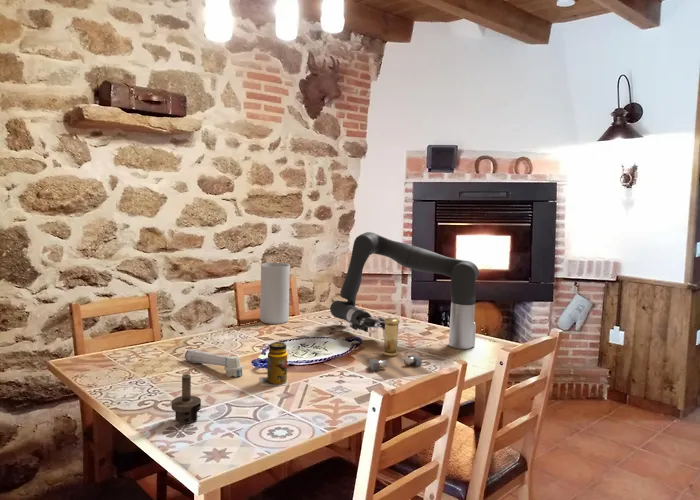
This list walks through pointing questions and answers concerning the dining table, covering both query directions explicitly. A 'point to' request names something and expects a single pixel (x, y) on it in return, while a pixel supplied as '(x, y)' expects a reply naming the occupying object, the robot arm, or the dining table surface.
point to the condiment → (276, 366)
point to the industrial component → (186, 403)
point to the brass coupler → (391, 337)
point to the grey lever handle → (216, 361)
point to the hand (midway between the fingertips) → (377, 328)
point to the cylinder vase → (274, 293)
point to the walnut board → (392, 365)
